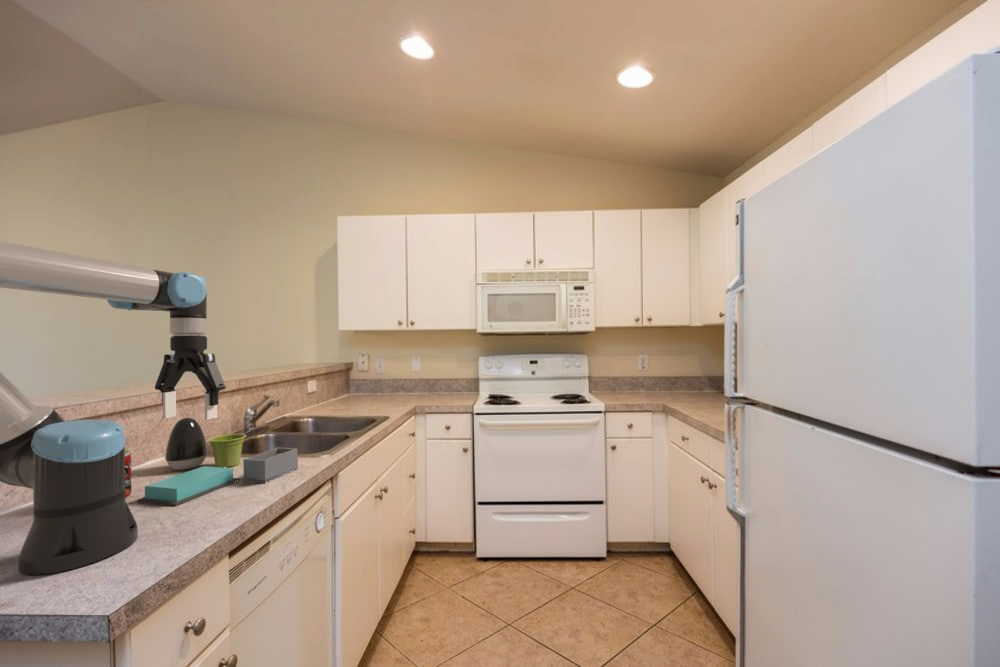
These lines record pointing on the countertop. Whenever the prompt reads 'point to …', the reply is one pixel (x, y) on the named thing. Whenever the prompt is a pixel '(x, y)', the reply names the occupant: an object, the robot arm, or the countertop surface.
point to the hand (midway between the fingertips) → (190, 417)
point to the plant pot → (227, 449)
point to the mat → (174, 503)
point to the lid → (188, 483)
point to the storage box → (270, 464)
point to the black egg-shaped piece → (186, 445)
